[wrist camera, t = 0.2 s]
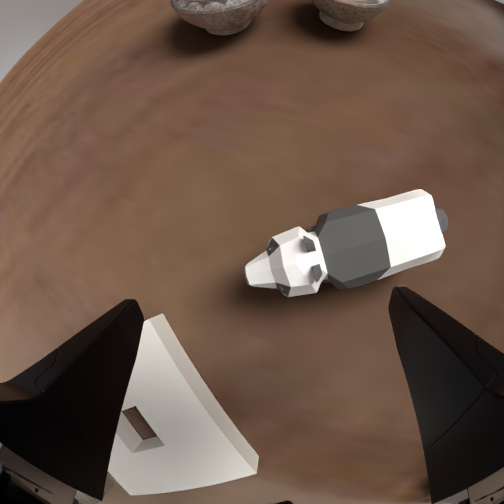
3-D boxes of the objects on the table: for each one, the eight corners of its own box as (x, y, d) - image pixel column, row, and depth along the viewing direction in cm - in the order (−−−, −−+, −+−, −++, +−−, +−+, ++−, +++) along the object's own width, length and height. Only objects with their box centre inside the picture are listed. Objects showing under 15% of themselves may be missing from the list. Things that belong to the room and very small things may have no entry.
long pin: (114, 483, 25) (88, 513, 17) (101, 483, 25) (75, 511, 17) (99, 466, 25) (70, 495, 17) (87, 467, 25) (58, 493, 17)
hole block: (258, 456, 23) (256, 473, 20) (139, 482, 24) (130, 495, 21) (162, 313, 25) (148, 318, 22) (60, 371, 26) (44, 378, 23)
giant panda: (398, 200, 23) (453, 170, 13) (414, 258, 23) (476, 255, 13) (246, 241, 24) (224, 227, 15) (262, 303, 24) (252, 329, 14)
